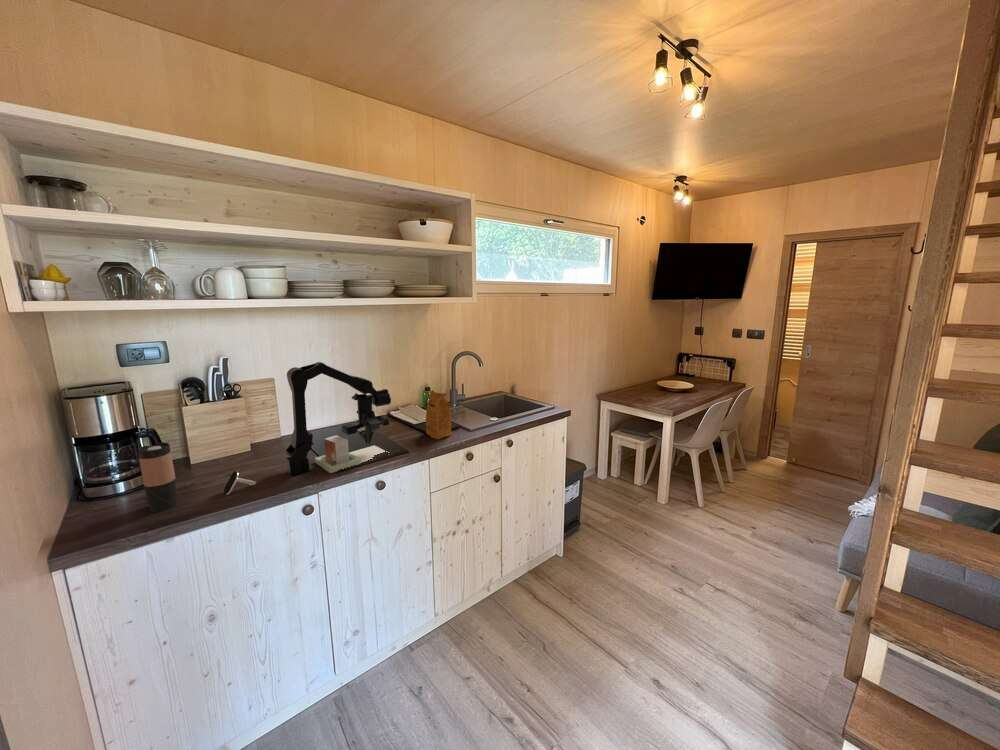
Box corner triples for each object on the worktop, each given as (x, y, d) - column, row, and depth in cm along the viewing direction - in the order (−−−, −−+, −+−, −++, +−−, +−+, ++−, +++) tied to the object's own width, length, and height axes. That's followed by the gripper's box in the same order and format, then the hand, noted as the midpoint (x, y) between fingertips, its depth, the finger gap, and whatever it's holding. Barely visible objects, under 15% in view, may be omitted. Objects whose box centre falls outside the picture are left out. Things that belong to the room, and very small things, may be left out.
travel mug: (168, 512, 123) (157, 451, 119) (141, 513, 123) (130, 451, 119) (185, 499, 131) (175, 441, 127) (160, 500, 130) (150, 442, 126)
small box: (325, 463, 159) (323, 438, 157) (338, 459, 164) (336, 434, 162) (336, 468, 155) (334, 442, 153) (349, 463, 159) (347, 438, 157)
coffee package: (441, 430, 200) (440, 387, 195) (454, 436, 190) (453, 391, 186) (423, 434, 194) (421, 390, 190) (435, 441, 184) (434, 395, 180)
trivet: (361, 463, 159) (360, 462, 159) (346, 454, 168) (346, 453, 168) (390, 454, 168) (389, 453, 168) (374, 446, 177) (374, 445, 177)
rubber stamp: (226, 496, 132) (238, 473, 134) (222, 492, 135) (234, 469, 137) (249, 501, 138) (261, 478, 139) (245, 496, 141) (256, 474, 143)
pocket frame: (330, 473, 150) (329, 468, 150) (315, 463, 160) (314, 457, 159) (360, 464, 159) (360, 459, 158) (344, 454, 168) (344, 449, 168)
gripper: (352, 417, 152) (355, 455, 155) (395, 407, 165) (397, 443, 168) (339, 411, 160) (342, 448, 163) (381, 403, 173) (383, 437, 176)
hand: (367, 444), depth 167 cm, fingers closed
